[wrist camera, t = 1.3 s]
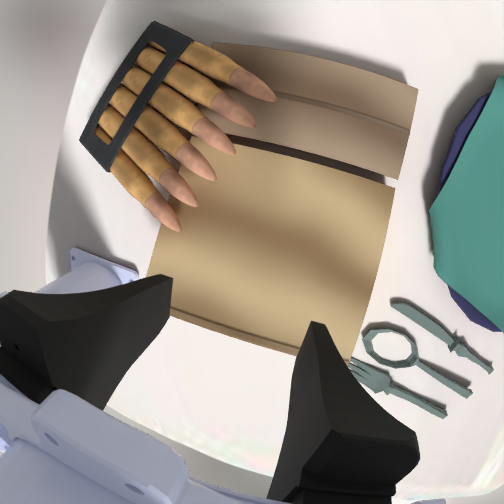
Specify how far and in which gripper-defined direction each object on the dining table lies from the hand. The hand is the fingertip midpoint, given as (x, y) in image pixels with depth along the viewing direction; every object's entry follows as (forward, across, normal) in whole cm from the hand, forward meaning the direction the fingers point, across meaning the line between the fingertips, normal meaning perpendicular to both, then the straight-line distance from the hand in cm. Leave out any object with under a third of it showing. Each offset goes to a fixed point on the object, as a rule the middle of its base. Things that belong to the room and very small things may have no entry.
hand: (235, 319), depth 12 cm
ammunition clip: (+8, +14, -10) cm, 19 cm away
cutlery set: (+10, -18, -4) cm, 21 cm away
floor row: (+9, 0, -10) cm, 14 cm away
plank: (+7, 0, -1) cm, 7 cm away
